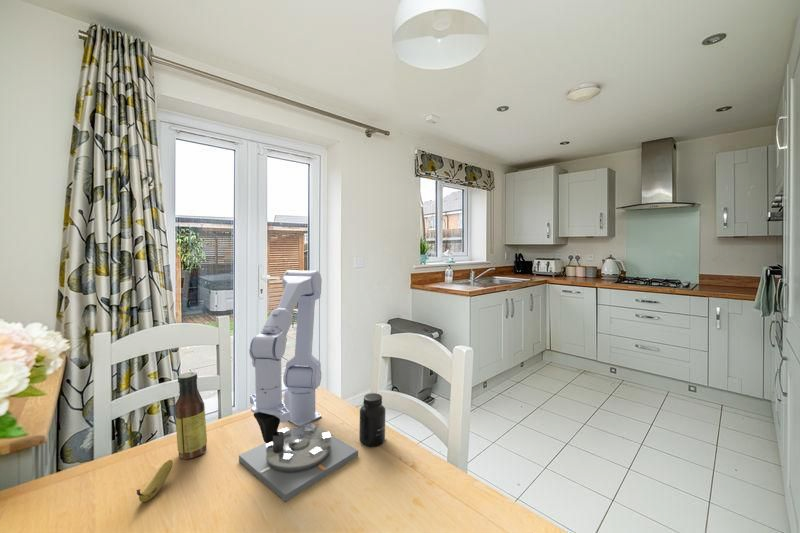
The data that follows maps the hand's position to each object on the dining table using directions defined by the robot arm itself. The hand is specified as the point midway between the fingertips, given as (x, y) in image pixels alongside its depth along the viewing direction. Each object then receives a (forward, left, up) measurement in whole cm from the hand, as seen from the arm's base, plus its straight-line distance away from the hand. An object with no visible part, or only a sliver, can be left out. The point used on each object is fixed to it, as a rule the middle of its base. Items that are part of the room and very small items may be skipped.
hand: (269, 440), depth 82 cm
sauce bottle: (-18, -10, -6) cm, 22 cm away
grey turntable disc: (+4, +6, -4) cm, 8 cm away
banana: (-9, -20, -6) cm, 23 cm away
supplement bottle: (+12, +23, -6) cm, 26 cm away
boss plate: (+4, +6, -5) cm, 9 cm away
